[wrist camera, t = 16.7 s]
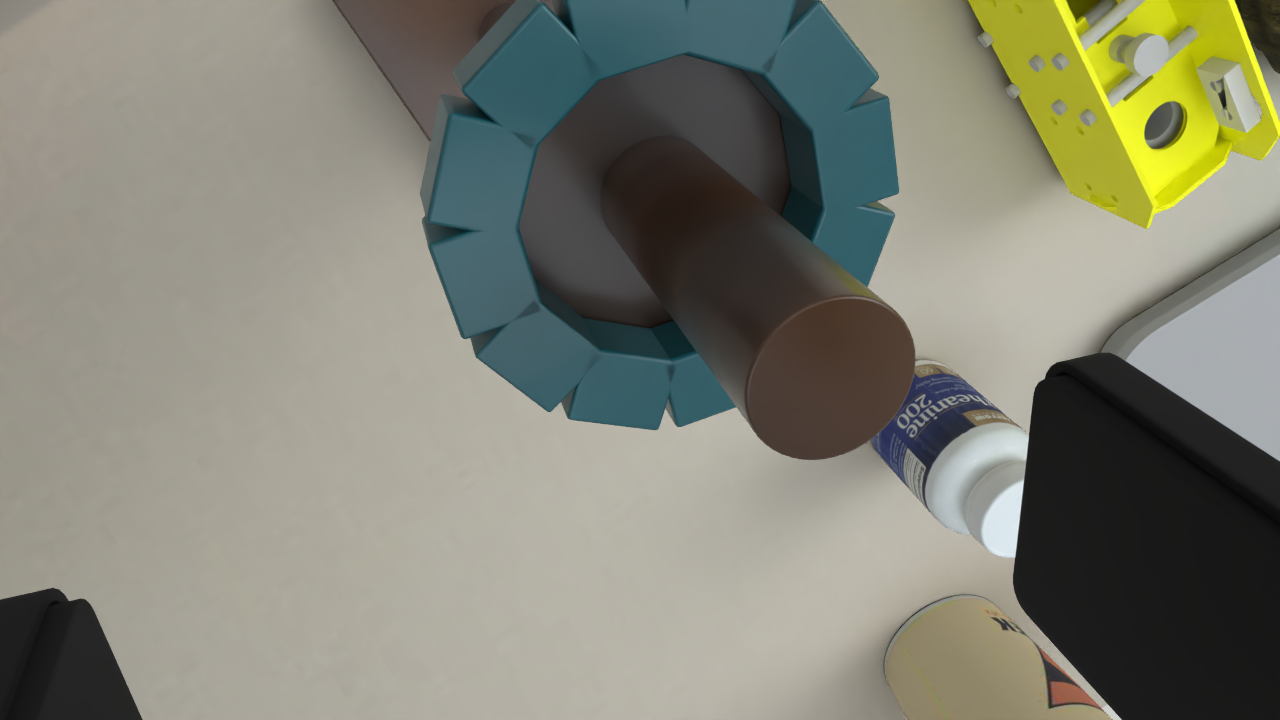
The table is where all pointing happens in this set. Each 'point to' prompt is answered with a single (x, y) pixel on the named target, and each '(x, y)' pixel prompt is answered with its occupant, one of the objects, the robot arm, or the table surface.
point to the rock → (1263, 27)
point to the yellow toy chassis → (1133, 93)
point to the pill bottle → (958, 457)
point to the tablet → (1218, 343)
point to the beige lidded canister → (978, 668)
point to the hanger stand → (679, 228)
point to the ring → (543, 96)
